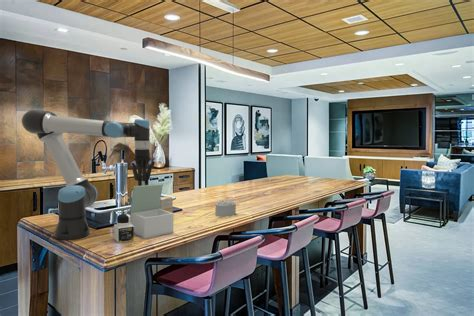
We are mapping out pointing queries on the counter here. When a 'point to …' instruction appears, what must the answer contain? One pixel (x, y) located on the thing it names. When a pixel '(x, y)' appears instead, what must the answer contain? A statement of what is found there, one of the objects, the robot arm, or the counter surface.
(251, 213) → the counter surface
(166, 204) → the supplement box
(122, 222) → the medicine bottle
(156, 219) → the storage box
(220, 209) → the lumpy-topped squat cylinder
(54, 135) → the robot arm
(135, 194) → the lid
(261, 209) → the counter surface
